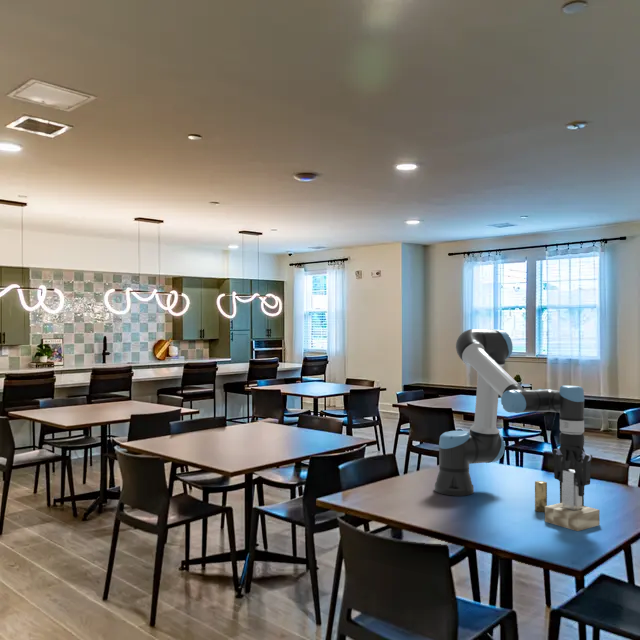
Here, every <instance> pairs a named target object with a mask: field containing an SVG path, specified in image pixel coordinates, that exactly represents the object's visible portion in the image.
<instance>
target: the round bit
mask: <svg viewBox="0 0 640 640" xmlns="http://www.w3.org/2000/svg"><path fill="white" fill-rule="evenodd" d="M545 506H548V482H546V481H542V480H537V481H534V511H535V512H537V513H545Z"/></svg>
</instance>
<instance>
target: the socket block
mask: <svg viewBox="0 0 640 640" xmlns="http://www.w3.org/2000/svg"><path fill="white" fill-rule="evenodd" d="M600 517H601V516H600V509H597V508H594V507H591V506H590V507H589V506H586V505H584V506H583V505H581V510H578V511H571V510H568V509H564V508H563V503H560V502H559V503H558V502H557V503H555V504H550V505H547V506H545V512H544V522H545V523H549V524H552V525H556V526H558V527H561V528H566V529H568V530H572V531H576V532H580V531H583V530H587V529H591V528H596V527H598V526H600Z"/></svg>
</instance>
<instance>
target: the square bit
mask: <svg viewBox="0 0 640 640" xmlns="http://www.w3.org/2000/svg"><path fill="white" fill-rule="evenodd" d="M576 485H577V479H576V474H575V470H572V469H568V470H563V508H564V509H568V510H571V511H578V510H581V506H575V486H576Z"/></svg>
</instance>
